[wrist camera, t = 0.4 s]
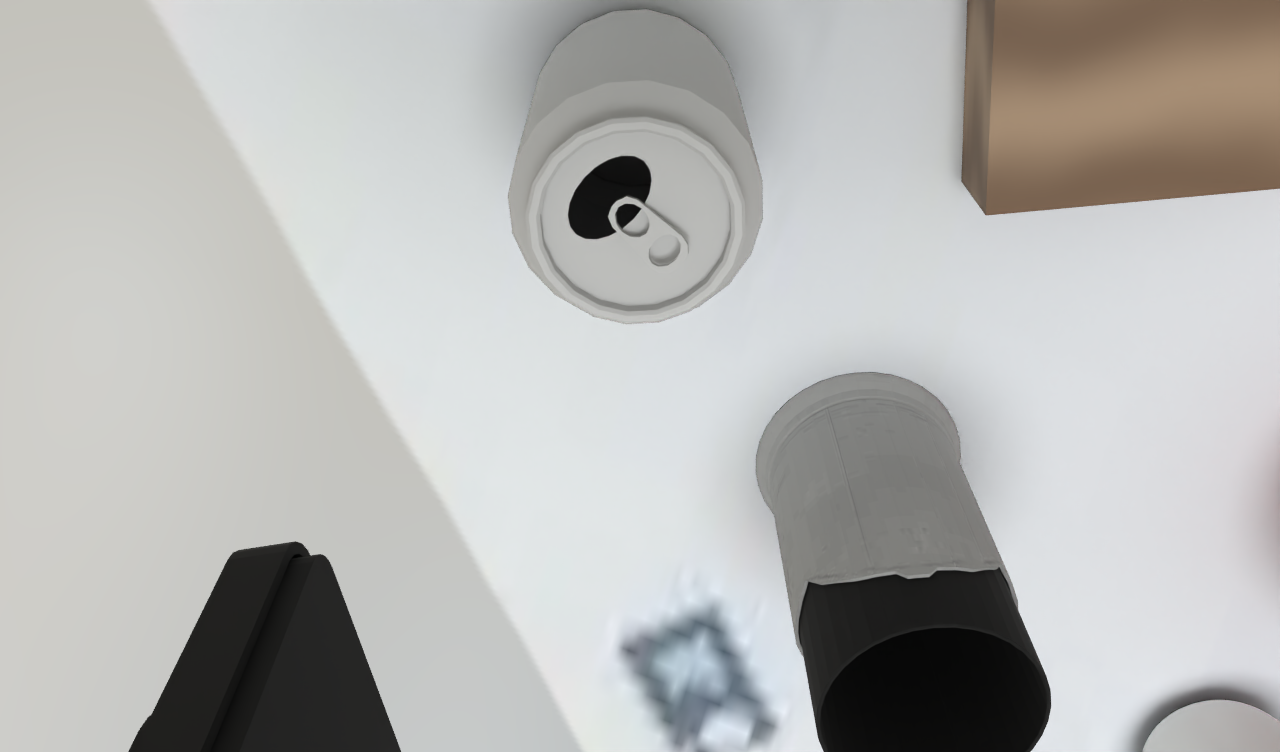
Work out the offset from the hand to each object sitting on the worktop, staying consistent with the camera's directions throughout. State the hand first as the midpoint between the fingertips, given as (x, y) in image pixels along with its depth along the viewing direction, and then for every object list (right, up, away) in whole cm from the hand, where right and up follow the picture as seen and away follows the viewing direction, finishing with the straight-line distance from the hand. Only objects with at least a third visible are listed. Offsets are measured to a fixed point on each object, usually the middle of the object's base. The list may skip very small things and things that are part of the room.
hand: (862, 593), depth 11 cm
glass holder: (+8, -4, +43) cm, 43 cm away
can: (-2, +12, +34) cm, 36 cm away
